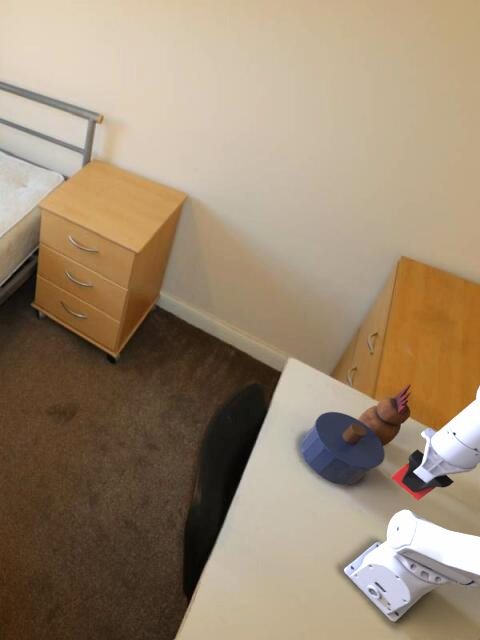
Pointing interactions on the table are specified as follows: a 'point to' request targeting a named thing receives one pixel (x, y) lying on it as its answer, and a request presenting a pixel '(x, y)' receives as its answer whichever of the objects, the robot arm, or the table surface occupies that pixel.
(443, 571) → the robot arm
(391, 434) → the wooden figurine
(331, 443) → the pot lid
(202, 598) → the table surface
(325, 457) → the pot
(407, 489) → the block
